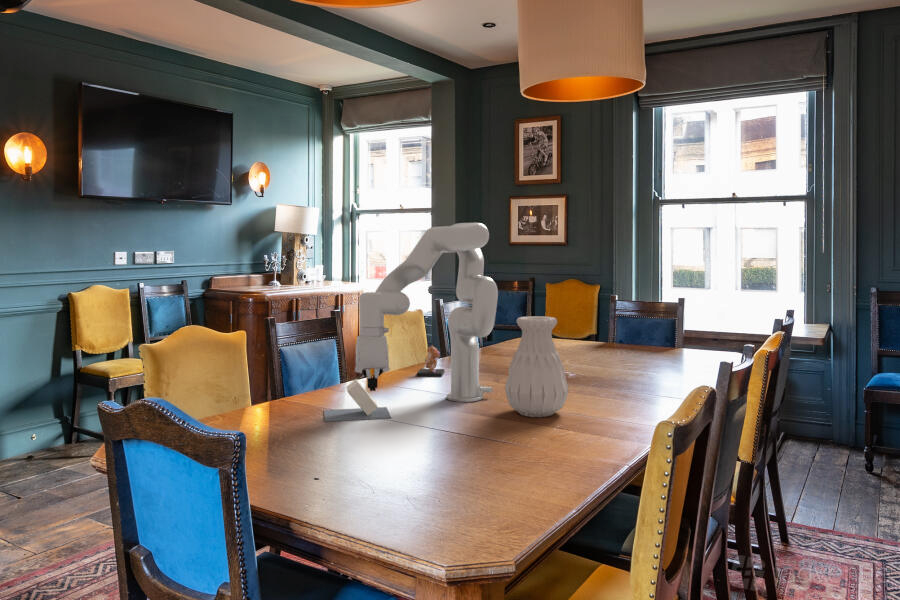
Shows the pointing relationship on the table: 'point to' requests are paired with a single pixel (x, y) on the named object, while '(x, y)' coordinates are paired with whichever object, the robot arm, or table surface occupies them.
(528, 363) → the vase
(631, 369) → the table surface
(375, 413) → the slate mat
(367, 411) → the cream block
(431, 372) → the figurine
